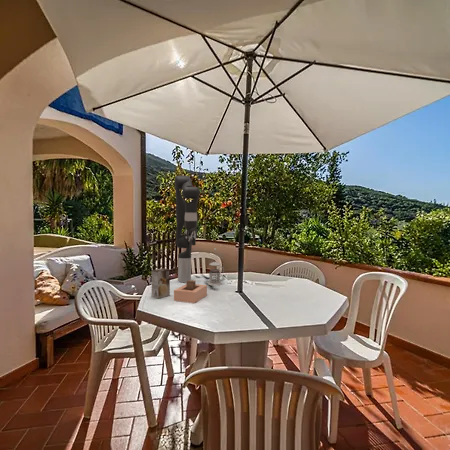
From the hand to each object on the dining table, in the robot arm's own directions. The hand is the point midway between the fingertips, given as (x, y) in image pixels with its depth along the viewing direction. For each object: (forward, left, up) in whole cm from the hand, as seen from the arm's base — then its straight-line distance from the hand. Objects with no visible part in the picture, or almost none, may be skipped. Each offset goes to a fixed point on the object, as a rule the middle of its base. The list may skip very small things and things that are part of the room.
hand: (190, 246), depth 194 cm
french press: (-31, +5, -30) cm, 43 cm away
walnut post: (+8, +4, -30) cm, 31 cm away
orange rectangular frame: (+8, +4, -29) cm, 31 cm away
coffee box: (+12, -14, -30) cm, 35 cm away
